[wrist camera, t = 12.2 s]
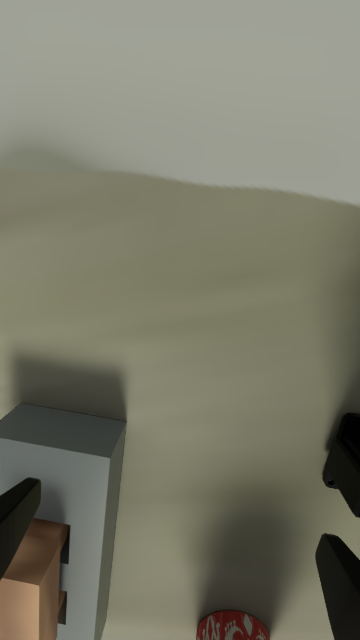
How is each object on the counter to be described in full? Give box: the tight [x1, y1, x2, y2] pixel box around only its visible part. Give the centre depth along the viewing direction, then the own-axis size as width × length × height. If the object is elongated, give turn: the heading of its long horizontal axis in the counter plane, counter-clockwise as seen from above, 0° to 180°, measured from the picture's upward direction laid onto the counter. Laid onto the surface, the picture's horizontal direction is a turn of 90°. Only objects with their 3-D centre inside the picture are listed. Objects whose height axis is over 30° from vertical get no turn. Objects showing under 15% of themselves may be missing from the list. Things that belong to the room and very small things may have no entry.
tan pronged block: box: [0, 518, 71, 640], centre depth 21 cm, size 4×10×6 cm, turn 172°
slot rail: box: [0, 403, 127, 640], centre depth 23 cm, size 9×24×4 cm, turn 172°
